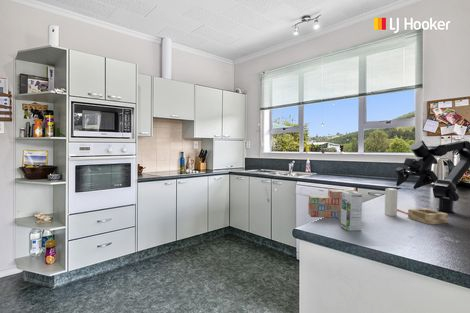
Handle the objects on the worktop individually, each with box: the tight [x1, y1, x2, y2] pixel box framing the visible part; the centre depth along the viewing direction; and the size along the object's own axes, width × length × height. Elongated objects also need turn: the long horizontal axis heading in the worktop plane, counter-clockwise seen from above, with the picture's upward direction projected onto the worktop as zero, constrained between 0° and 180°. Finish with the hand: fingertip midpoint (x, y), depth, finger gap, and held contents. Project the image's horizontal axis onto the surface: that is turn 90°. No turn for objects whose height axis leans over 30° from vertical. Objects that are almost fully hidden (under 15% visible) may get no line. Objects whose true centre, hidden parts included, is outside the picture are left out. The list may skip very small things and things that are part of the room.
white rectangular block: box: [384, 187, 399, 217], centre depth 123 cm, size 4×4×12 cm
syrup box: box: [340, 191, 363, 232], centre depth 102 cm, size 6×6×14 cm
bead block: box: [407, 207, 449, 225], centre depth 115 cm, size 10×10×4 cm
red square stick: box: [397, 208, 408, 215], centre depth 130 cm, size 14×1×1 cm, turn 1°
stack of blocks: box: [307, 189, 360, 219], centre depth 120 cm, size 21×6×12 cm, turn 85°
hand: (405, 186), depth 125 cm, fingers open, 9 cm apart
